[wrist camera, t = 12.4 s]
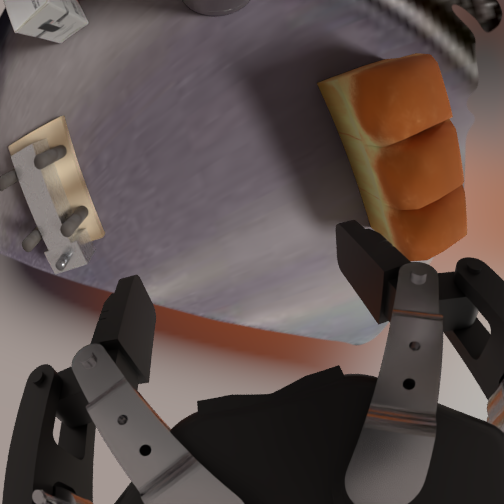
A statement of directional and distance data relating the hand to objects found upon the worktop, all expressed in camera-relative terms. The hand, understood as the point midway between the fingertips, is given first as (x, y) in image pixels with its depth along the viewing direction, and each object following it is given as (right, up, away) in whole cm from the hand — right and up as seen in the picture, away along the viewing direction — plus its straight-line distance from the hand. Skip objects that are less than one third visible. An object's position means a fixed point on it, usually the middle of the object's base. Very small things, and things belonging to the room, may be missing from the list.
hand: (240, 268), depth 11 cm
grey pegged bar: (-27, +8, +22) cm, 35 cm away
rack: (-27, +10, +22) cm, 36 cm away
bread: (+19, +17, +27) cm, 37 cm away
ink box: (-24, +32, +11) cm, 41 cm away
